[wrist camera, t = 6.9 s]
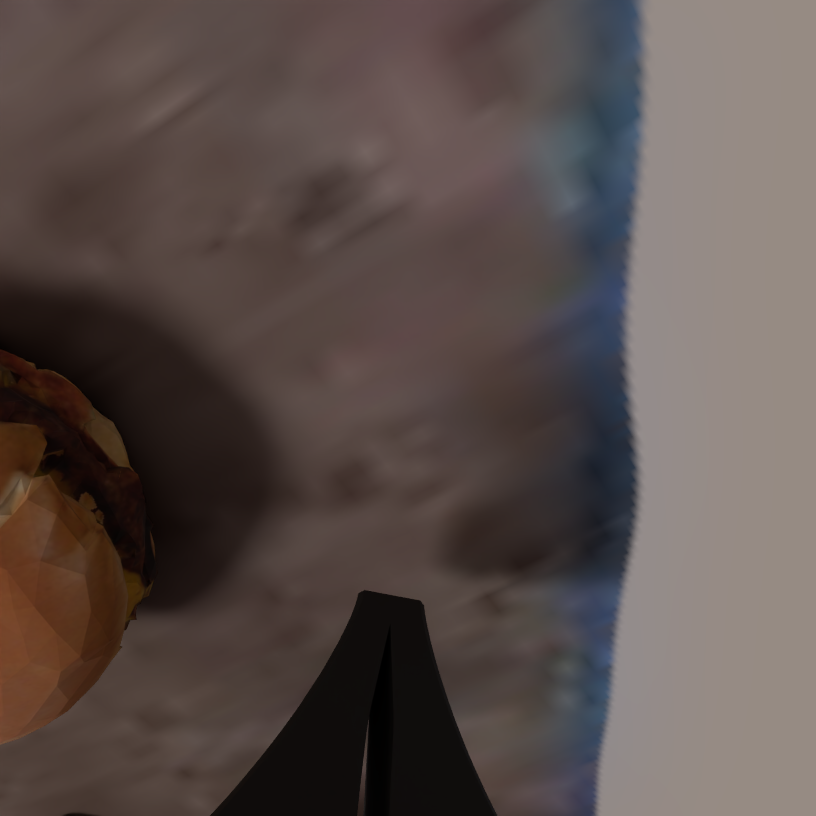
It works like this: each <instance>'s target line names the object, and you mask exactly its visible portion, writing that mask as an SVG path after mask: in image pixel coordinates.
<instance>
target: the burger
mask: <svg viewBox="0 0 816 816" xmlns="http://www.w3.org/2000/svg"><path fill="white" fill-rule="evenodd" d="M142 491H143V487H142V484H141V482H140V479H139V476H138V474H137V473H135V472H134V470H133V468H132V467H130V464H129V459H128V455H127V452H126V449H125V446H124V443H123V441H122V438H121V436H120V434H119V432H118V430H117V428H116V427H115V425H114V423H113V422H112V421H110V420H109V419H107V418H106V417H104V416H103V415H102V414H100V413H99V412H98V411H97V410H96V409H95V408H94V407H92V404H91V402H90V401H89V400H88V399H87V398H86V397H85V396H84V395H83V394H82V392H81V391H80V390H79V389H78V388H77V387H76V386H75V385H74V384H72V383H71V382H70V381H69V380H67V379H66V378H65V377H63V376H62V375H60V374H58V373H56V372H54V371H50V370H48V369H38V370H37V369H36V367H35V364H34V363H31V362H28V361H25V359H23V358H20V357H18V356H16V355H14V354H11V353H8V352H6V351H3V350H1V349H0V744H3V743H7V742H10V741H13V740H17V739H19V738H21V737H23V736H25V735H27V734H29V733H31V732H33V731H35V730H37V729H39V728H41V727H43V726H45V725H47V724H48V723H50V722H51V721H53V720H54V719H56V718H58V717H59V716H61V715H62V714H64V713H65V712H67V711H68V710H69V709H70V708H71V707H72V706H73V705H74V704H75V703H76V702H77V701H78V700H79V699H80V698H81V697H82V696H83V695H84V694H85V693H86V692H87V691H88V690H89V689H90V688H91V687H92V686H93V685H94V684H95V683H96V682H97V680H98V679H99V678H100V676H101V675H102V673H103V672H104V670H105V669H106V668H107V666H108V665H109V663H110V662H111V660H112V659H113V658H114V657H115V655H116V654H117V653H118V652H119V650H120V649H121V648H122V646H120V644H121V640H122V636H123V632H124V630H126V629H127V627H128V624H129V621H130V620H137V619H136V609H137V605H138V604H140V603H141V601H142V599H143V598H145V597H147V596H149V593H150V590H151V587H152V584H153V582H154V579H155V577H156V575H157V573H158V571H157V565H156V559H155V547H154V542H153V538H152V535H151V531H150V530H151V529H152V527H153V526H154V525H153V524H152V522H151V521H150V519H149V517H148V516H147V514H146V510H145V504H146V499H145V497H144V495H143V492H142Z"/></svg>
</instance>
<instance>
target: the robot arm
mask: <svg viewBox="0 0 816 816" xmlns="http://www.w3.org/2000/svg"><path fill="white" fill-rule="evenodd" d="M368 720H369V728H368V746H367V763H366V781H365V798H364V816H497V814H496V812H495V810H494V808H493V806H492V804H491V802H490V800H489V798H488V796H487V794H486V792H485V790H484V787H483V785H482V783H481V781H480V779H479V777H478V774H477V772H476V770H475V768H474V766H473V763H472V761H471V759H470V756H469V754H468V751H467V749H466V747H465V744H464V742H463V739H462V737H461V734H460V731H459V729H458V726H457V724H456V721H455V718H454V716H453V713H452V710H451V707H450V704H449V702H448V699H447V696H446V692H445V689H444V686H443V683H442V680H441V677H440V674H439V671H438V667H437V664H436V660H435V657H434V653H433V649H432V645H431V641H430V637H429V632H428V628H427V623H426V617H425V610H424V605H423V604H422V602H421V601H419V600H414V599H409V598H403V597H398V596H393V595H387V594H382V593H377V592H371V591H366V590H364V591H362V592H360V593H359V594H358V598H357V601H356V605H355V607H354V610H353V613H352V615H351V617H350V620H349V622H348V624H347V626H346V628H345V630H344V632H343V634H342V636H341V638H340V640H339V642H338V644H337V646H336V647H335V649H334V651H333V653H332V654H331V656H330V658H329V660H328V662H327V663H326V665H325V667H324V668H323V670H322V672H321V673H320V675H319V677H318V678H317V680H316V681H315V683H314V684H313V686H312V687H311V689H310V690H309V692H308V693H307V695H306V696H305V698H304V699H303V701H302V703H301V704H300V706H299V707H298V708H297V710H296V711H295V713H294V714H293V715H292V717H291V718H290V720H289V721H288V722H287V724H286V725H285V727H284V728H283V729H282V731H281V732H280V733H279V735H278V736H277V737H276V738H275V740H274V741H273V742H272V744H271V745H270V746H269V748H268V749H267V750H266V751H265V753H264V754H263V755H262V756H261V758H260V759H259V760H258V761H257V762H256V764H255V765H254V766H253V767H252V768H251V770H250V771H249V772H248V773H247V775H246V776H245V777H244V778H243V779H242V781H241V782H240V783H239V784H238V785H237V786H236V788H235V789H234V790H233V791H232V792H231V793H230V794H229V796H228V797H227V798H226V799H225V800H224V801H223V802H222V803H221V804H220V806H219V807H218V808H217V809H216V810H215V811H214V812H213V813H212V814H211V815H210V816H357V810H358V801H359V792H360V783H361V774H362V766H363V757H364V748H365V740H366V732H367V725H368Z"/></svg>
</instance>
